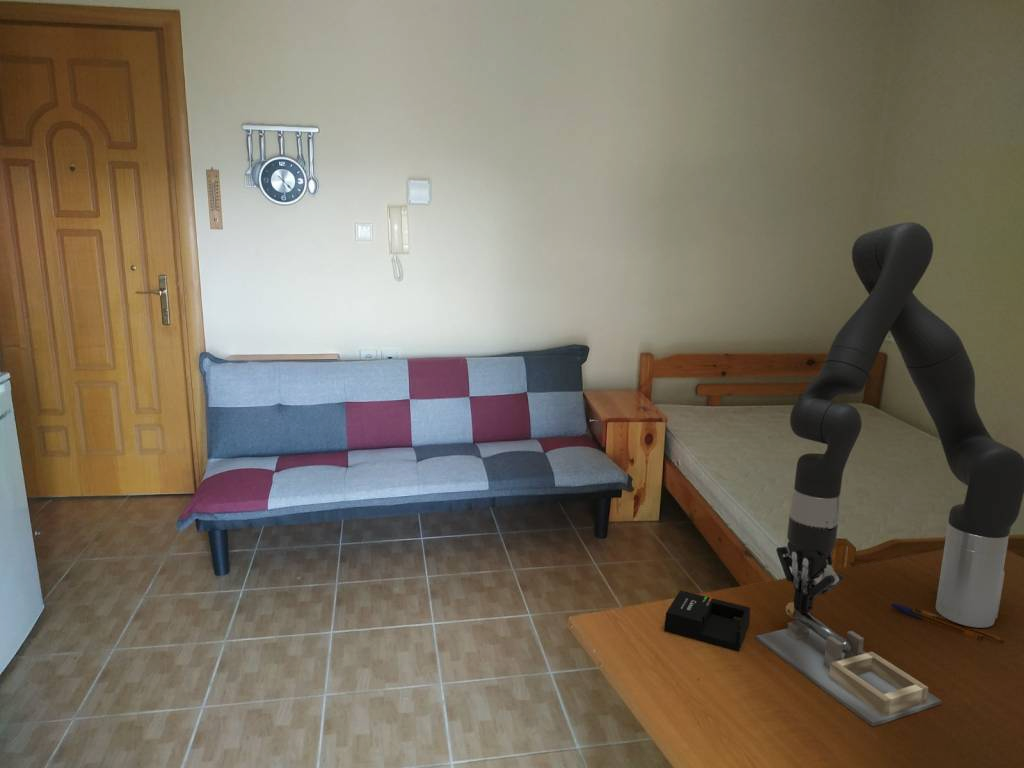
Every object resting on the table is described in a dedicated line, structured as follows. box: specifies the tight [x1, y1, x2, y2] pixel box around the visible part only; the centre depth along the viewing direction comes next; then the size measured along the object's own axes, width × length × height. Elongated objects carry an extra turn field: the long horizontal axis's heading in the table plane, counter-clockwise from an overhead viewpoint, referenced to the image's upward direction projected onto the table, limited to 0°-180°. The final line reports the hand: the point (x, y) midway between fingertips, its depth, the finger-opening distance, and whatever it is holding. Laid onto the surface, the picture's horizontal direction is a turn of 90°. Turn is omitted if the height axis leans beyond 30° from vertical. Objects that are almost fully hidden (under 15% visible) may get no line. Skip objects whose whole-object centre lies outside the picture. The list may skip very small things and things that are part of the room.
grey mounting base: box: [755, 619, 942, 728], centre depth 112 cm, size 14×24×6 cm, turn 22°
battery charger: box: [664, 589, 751, 653], centre depth 123 cm, size 13×10×4 cm
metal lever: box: [785, 601, 851, 653], centre depth 117 cm, size 3×13×3 cm, turn 22°
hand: (802, 610), depth 119 cm, fingers closed
